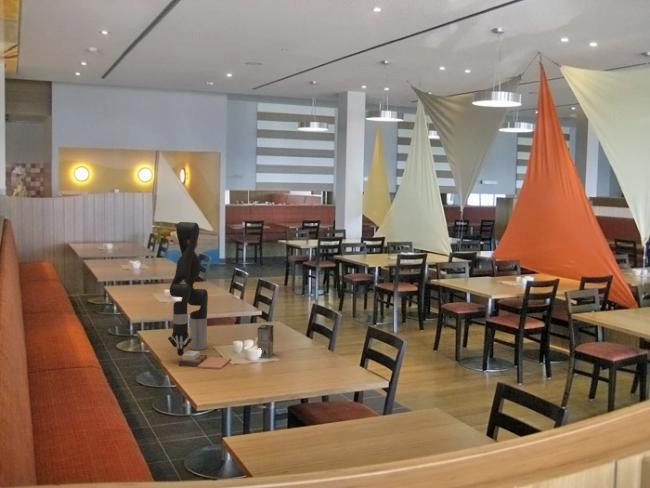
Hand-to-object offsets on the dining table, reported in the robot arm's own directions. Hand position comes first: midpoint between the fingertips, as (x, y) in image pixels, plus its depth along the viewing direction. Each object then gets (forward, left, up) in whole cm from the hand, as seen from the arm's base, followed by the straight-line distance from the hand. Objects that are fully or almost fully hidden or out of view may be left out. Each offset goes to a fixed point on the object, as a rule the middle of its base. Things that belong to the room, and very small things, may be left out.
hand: (180, 355), depth 352 cm
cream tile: (0, +6, -1) cm, 6 cm away
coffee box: (-21, +40, -4) cm, 45 cm away
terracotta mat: (0, +18, -4) cm, 19 cm away
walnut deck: (0, +7, -4) cm, 8 cm away
